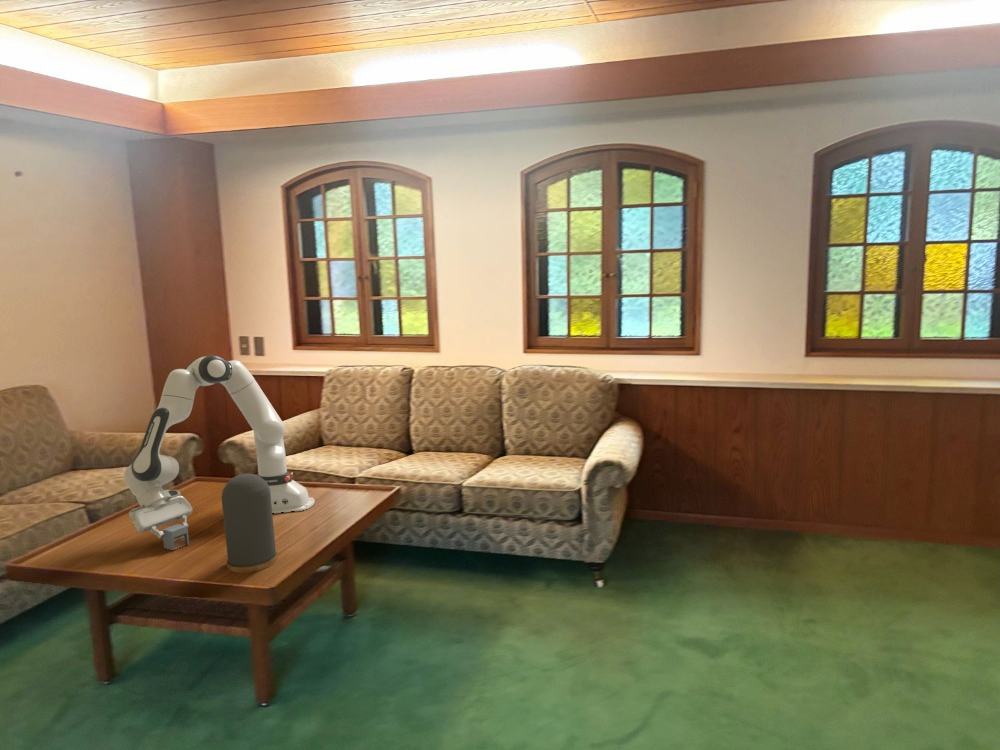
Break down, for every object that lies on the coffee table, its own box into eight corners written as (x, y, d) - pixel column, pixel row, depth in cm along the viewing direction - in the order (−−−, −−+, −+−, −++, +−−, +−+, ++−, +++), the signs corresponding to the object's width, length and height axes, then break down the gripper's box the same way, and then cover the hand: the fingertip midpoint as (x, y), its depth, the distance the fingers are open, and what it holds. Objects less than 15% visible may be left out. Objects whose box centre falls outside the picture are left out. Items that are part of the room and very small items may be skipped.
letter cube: (178, 543, 249) (177, 532, 248) (185, 545, 247) (184, 534, 246) (168, 547, 246) (166, 536, 245) (175, 549, 244) (174, 538, 243)
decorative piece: (286, 553, 236) (278, 467, 232) (263, 573, 221) (254, 482, 216) (243, 552, 239) (234, 467, 234) (217, 571, 224) (208, 481, 219)
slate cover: (179, 542, 250) (177, 523, 249) (189, 544, 247) (187, 526, 246) (164, 548, 245) (161, 529, 244) (174, 550, 242) (171, 531, 241)
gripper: (129, 505, 239) (149, 537, 235) (182, 488, 256) (202, 518, 253) (123, 516, 242) (143, 547, 238) (176, 498, 259) (195, 527, 256)
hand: (174, 532), depth 246 cm, fingers open, 8 cm apart
